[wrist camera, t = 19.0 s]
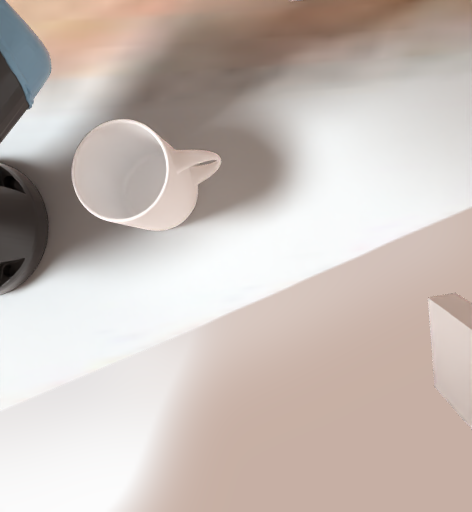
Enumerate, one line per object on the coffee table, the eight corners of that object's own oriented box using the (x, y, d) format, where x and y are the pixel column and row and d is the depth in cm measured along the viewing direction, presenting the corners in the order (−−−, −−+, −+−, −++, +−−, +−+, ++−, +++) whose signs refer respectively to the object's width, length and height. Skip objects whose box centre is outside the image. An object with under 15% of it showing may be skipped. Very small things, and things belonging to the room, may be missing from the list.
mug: (240, 210, 47) (221, 194, 36) (133, 241, 48) (84, 234, 38) (220, 131, 47) (194, 92, 36) (114, 164, 49) (60, 136, 38)
